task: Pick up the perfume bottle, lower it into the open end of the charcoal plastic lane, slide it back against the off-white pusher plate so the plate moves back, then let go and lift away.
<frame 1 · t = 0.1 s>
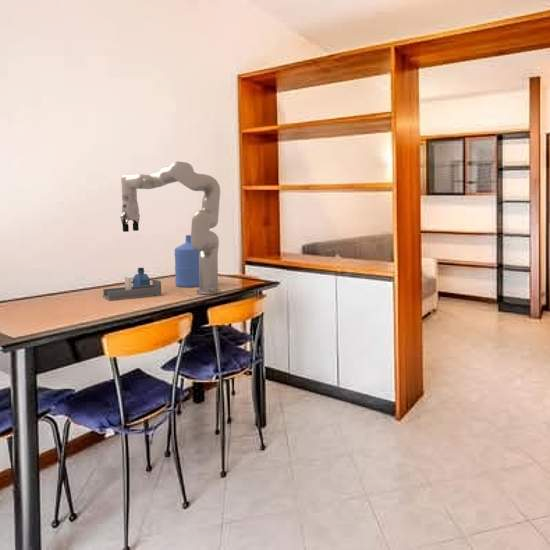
hand: (130, 231, 277), 31 cm above the table, tool pointing down, fingers open, 9 cm apart
pusher: (129, 285, 257), point 5 cm above the table, slide at 0.0 cm
perfume bottle: (141, 290, 275), on the table
lane: (132, 296, 259), on the table
water jug: (189, 285, 291), on the table
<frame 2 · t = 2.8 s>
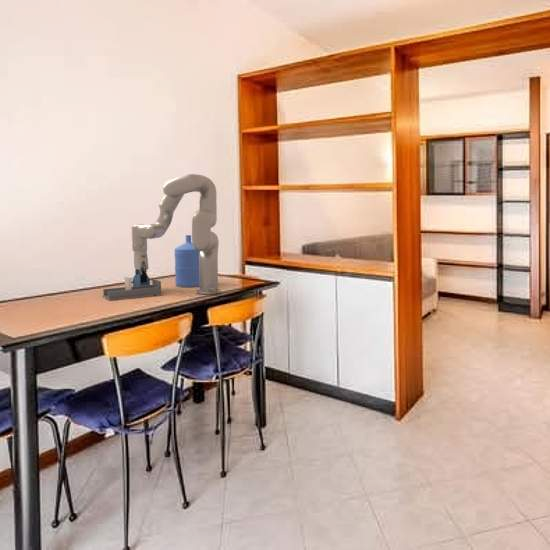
hand: (141, 280, 274), 5 cm above the table, tool pointing down, fingers closed on perfume bottle, 7 cm apart
perfume bottle: (141, 290, 275), on the table, touching gripper
everything else where it was.
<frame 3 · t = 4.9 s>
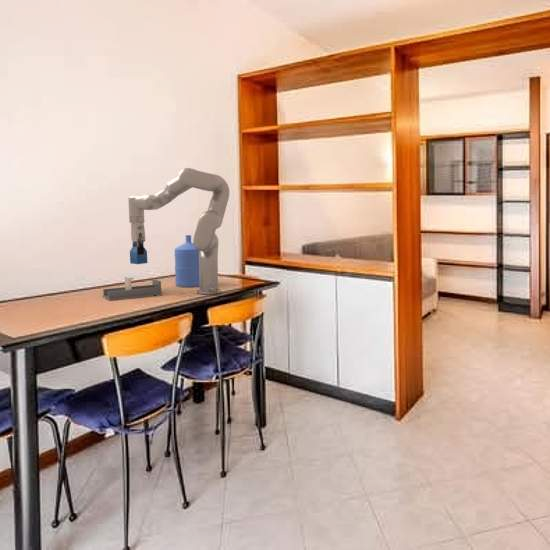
hand: (138, 253, 270), 20 cm above the table, tool pointing down, fingers closed on perfume bottle, 7 cm apart
perfume bottle: (138, 263, 271), point 14 cm above the table, touching gripper
everything else where it was.
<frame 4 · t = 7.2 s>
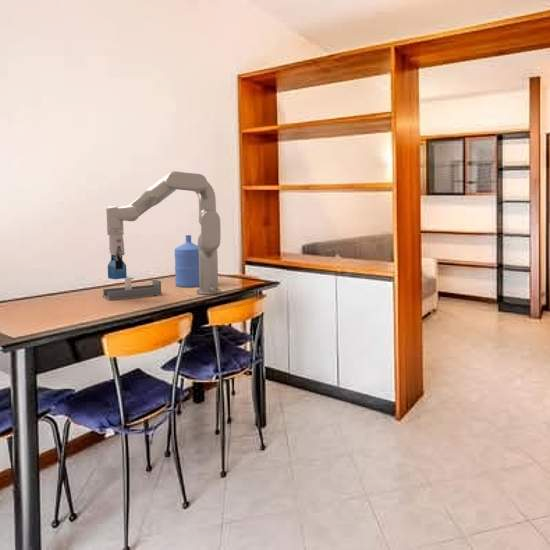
hand: (116, 267, 253), 15 cm above the table, tool pointing down, fingers closed on perfume bottle, 7 cm apart
perfume bottle: (117, 278, 254), point 9 cm above the table, touching gripper
everything else where it was.
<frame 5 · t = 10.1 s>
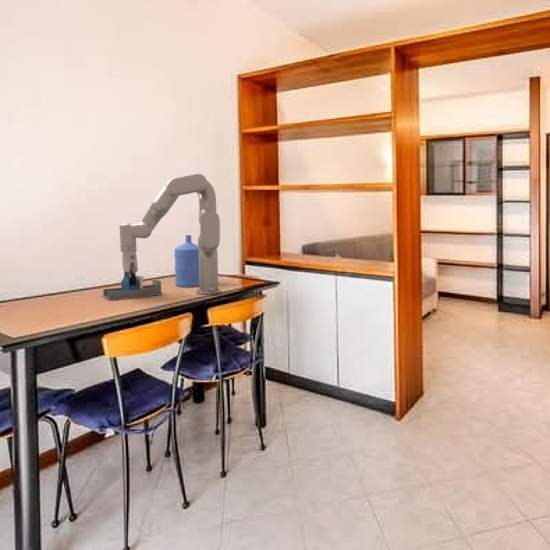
hand: (130, 283, 257), 6 cm above the table, tool pointing down, fingers closed on perfume bottle, 7 cm apart
pusher: (140, 284, 260), point 5 cm above the table, slide at 5.6 cm, touching perfume bottle
perfume bottle: (130, 294, 258), point 1 cm above the table, touching gripper, pusher
everything else where it was.
when the fingers open (6 cm above the table, at t = 11.9 s): perfume bottle stays where it is, resting on lane.
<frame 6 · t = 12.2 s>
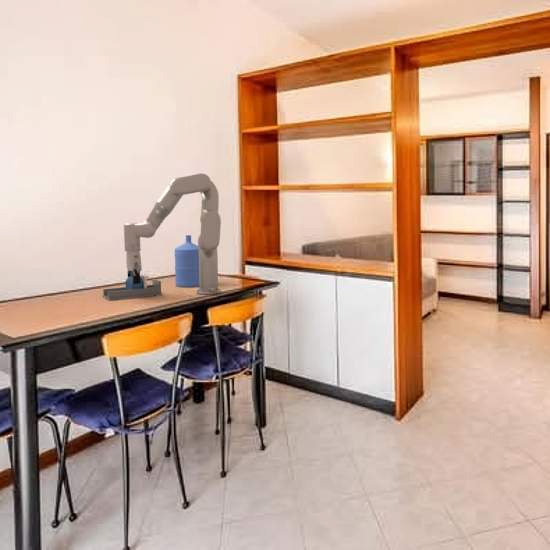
hand: (134, 282, 258), 7 cm above the table, tool pointing down, fingers open, 9 cm apart
pusher: (144, 284, 261), point 5 cm above the table, slide at 7.6 cm
perfume bottle: (134, 294, 259), point 1 cm above the table, touching lane
everything else where it was.
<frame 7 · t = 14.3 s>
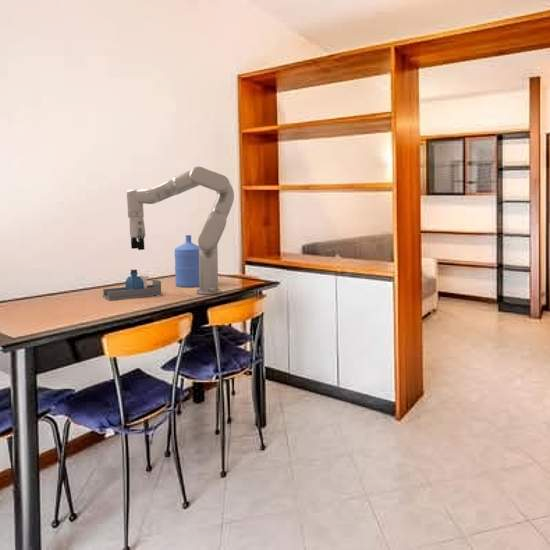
hand: (137, 249, 260), 23 cm above the table, tool pointing down, fingers open, 9 cm apart
nothing on the table moved.
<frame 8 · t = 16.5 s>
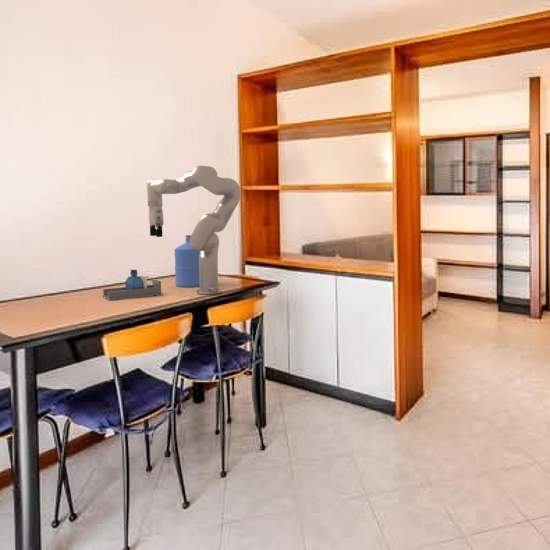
hand: (156, 236, 276), 28 cm above the table, tool pointing down, fingers open, 9 cm apart
nothing on the table moved.
at the end: pusher slide at 7.6 cm; perfume bottle inside the target area on the lane (0.4 cm from its centre), point 0.8 cm above the lane's base; perfume bottle tilted 0° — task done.
